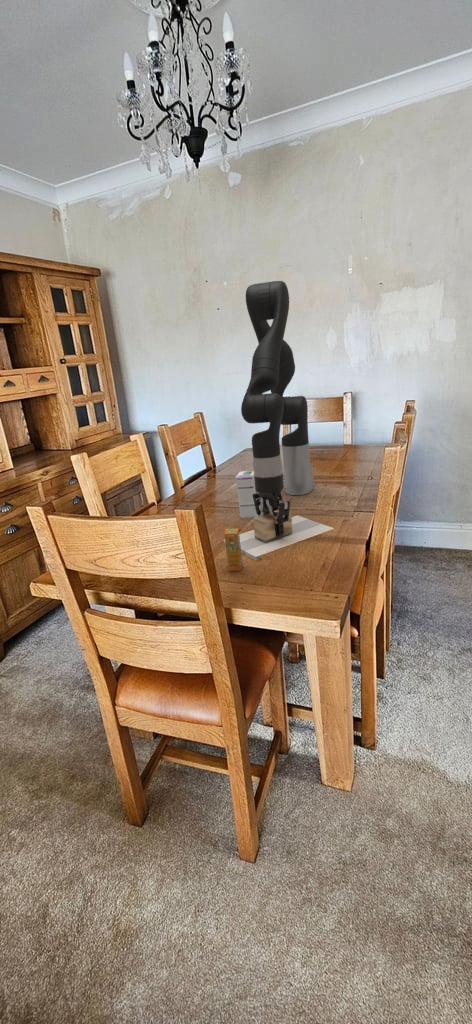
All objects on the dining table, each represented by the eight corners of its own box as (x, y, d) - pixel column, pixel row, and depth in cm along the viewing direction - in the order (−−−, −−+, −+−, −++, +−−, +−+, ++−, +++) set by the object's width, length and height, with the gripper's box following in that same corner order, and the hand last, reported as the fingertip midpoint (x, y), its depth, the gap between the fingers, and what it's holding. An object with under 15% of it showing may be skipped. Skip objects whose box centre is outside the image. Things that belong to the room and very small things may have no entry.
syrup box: (258, 520, 147) (254, 474, 142) (240, 521, 148) (235, 475, 143) (261, 514, 152) (257, 470, 147) (243, 515, 153) (238, 471, 149)
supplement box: (227, 572, 115) (223, 533, 112) (230, 565, 118) (225, 528, 115) (241, 571, 114) (237, 532, 111) (243, 565, 117) (239, 527, 114)
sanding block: (281, 528, 134) (279, 509, 132) (292, 532, 130) (291, 513, 128) (254, 537, 130) (252, 518, 128) (265, 542, 126) (263, 522, 124)
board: (297, 519, 144) (297, 515, 144) (334, 532, 131) (334, 528, 131) (223, 543, 132) (223, 539, 132) (256, 561, 119) (255, 556, 119)
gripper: (297, 473, 120) (301, 536, 126) (264, 465, 132) (269, 523, 138) (272, 480, 117) (278, 544, 122) (241, 471, 129) (247, 530, 134)
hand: (273, 533), depth 130 cm, fingers closed on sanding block, 5 cm apart
